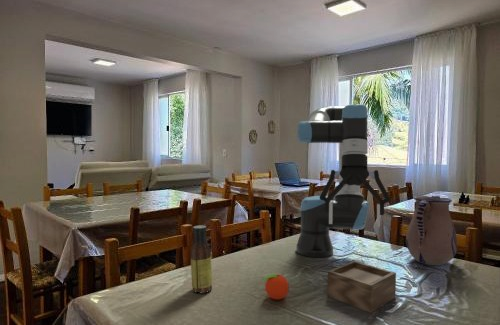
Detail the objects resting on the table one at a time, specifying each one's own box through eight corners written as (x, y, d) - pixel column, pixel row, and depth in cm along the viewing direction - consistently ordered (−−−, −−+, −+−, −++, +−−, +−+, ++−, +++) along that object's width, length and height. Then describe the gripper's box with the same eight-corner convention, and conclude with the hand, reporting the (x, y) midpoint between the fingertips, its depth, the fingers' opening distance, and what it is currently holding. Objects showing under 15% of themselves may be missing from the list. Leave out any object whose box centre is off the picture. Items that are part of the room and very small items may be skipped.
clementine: (264, 304, 98) (264, 280, 97) (259, 294, 104) (259, 271, 104) (291, 302, 99) (291, 278, 99) (285, 292, 106) (285, 269, 105)
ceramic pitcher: (459, 260, 136) (461, 196, 134) (452, 276, 119) (454, 204, 117) (410, 251, 146) (412, 192, 145) (398, 266, 129) (399, 199, 128)
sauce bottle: (215, 287, 109) (215, 225, 108) (206, 295, 103) (206, 229, 102) (196, 284, 111) (196, 223, 110) (187, 292, 105) (186, 228, 104)
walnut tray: (327, 295, 104) (327, 271, 103) (353, 283, 113) (353, 260, 112) (370, 312, 93) (371, 285, 93) (395, 297, 102) (395, 272, 102)
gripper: (311, 153, 107) (309, 223, 104) (399, 152, 98) (400, 228, 95) (315, 157, 114) (313, 222, 111) (397, 156, 105) (398, 227, 102)
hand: (354, 225), depth 103 cm, fingers open, 13 cm apart
